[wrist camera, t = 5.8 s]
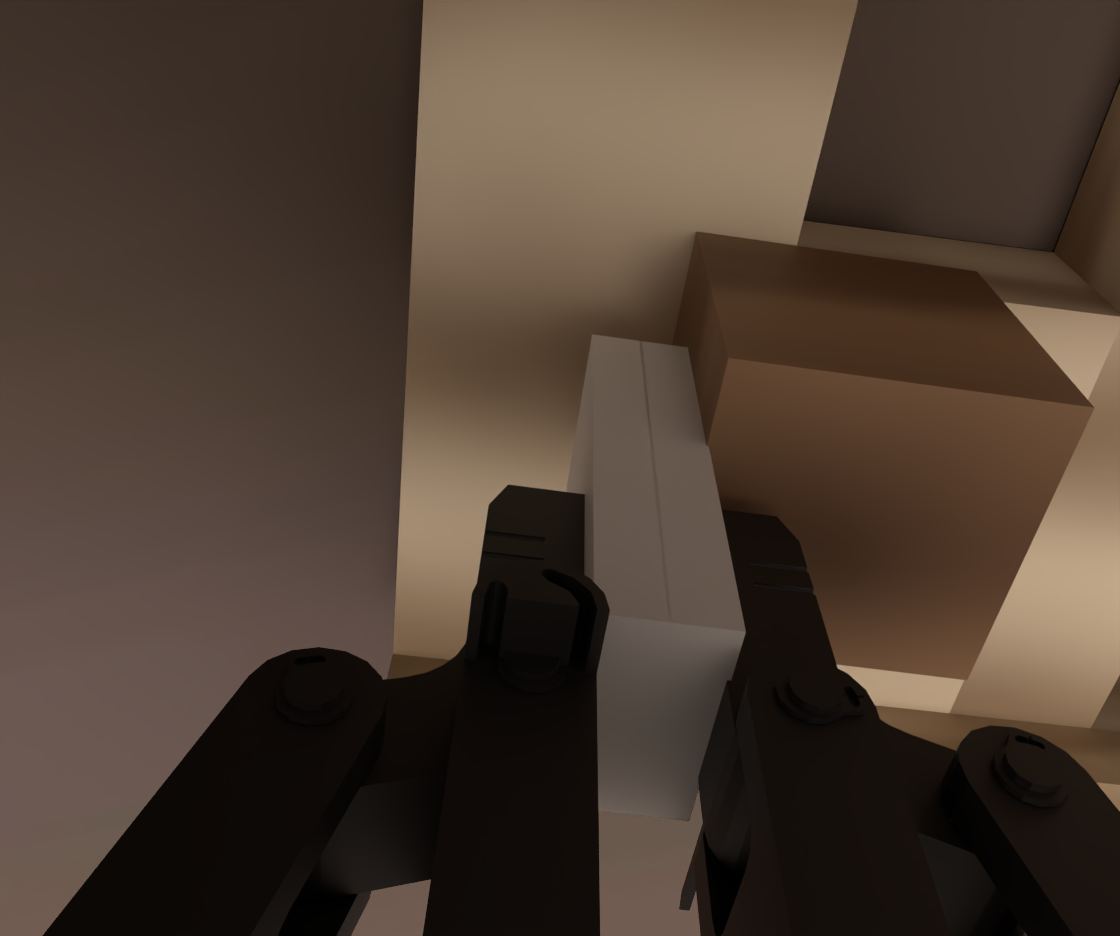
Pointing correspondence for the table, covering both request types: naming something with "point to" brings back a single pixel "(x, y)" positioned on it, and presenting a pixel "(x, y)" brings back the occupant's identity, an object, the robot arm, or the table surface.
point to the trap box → (656, 292)
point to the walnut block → (880, 435)
